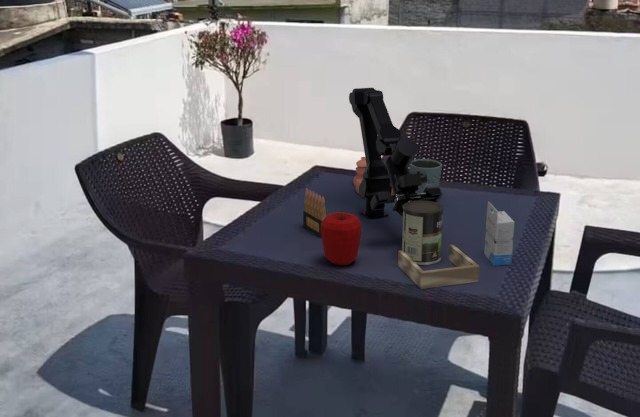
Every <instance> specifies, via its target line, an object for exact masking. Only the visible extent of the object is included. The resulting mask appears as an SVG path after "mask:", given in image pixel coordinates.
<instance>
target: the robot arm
mask: <svg viewBox="0 0 640 417" xmlns="http://www.w3.org/2000/svg"><path fill="white" fill-rule="evenodd" d="M348 102H349V104H350V105H351V110H352V112H353V113H354V114H355V116H356V117H357V118H358V121H359V126H360V132H361V139H362V145H363V152H364V157H365V158H366V168H365V170H364V173H363V180H362V181H361V183H360V185H359V194H358V195H360V196H361V198H363V199H364V198H365V199H364V201H365V202H364V203H365V204H364V210H360V213H361V214H362V215H363V216H365V217H366V218H367V219H375V218H376V219H378V218H384V217H389V215H390V214H389V213H387V212H386V211H385V206H386V204H392V205H393V207H392V211H393V212H396V213H397V214H399V215H400V217H402V218H403V205H404V204H405V203H407V202H411V201H420V200H423V201H432V202H436V203H438V202H439V200H440V199H441V197H442V196H443V192H442V189H441V188H440V186H439V187H427V188H425V190H424V191H423V193H416V192H415V191H417V190H418V189H419V188H418V186H422V183H425V182H427V174H426V172H425V170H422V171H418V172H417V174H412V173H410V167H409V166H410V164H411V162H412V161H413V160H415V157H416V155H417V154H418V151H419V146H418V145H419V144H418V143H416V141H415V140H413V139H412V138H410V137H409V136H408V134H403V133H402V131H401V129H399V128H397V127H396V126H394V124H393V121H392V119H391V116H390V114H389V111H388V108H387V106H386V104H385V101H384V92H383V91H382V90H377V89H375V88H374V87H359V88H357V87H356V88H353V89H352V92H350V93H349V96H348ZM382 156H383V157H387V159H386V161H385V163H384V162H383V159H382ZM388 156H389V157H388ZM392 189H393V195H392V196H391V192H392Z"/></svg>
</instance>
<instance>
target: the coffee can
mask: <svg viewBox="0 0 640 417" xmlns="http://www.w3.org/2000/svg"><path fill="white" fill-rule="evenodd" d="M443 213H444V206H443V205H442V203H438V202H437V203H436V202H432V201H423V200H420V201H411V202H407V203H405V204H404V205H403V217H402V238H401V239H402V240H401V242H402V244H401V246H402V247H401V250H402V251H403V252H404V253H405V254H406V255H407V256H408V257H410V258H411V259H412V260H413V261H414V262H415V263H416V264H417V265H418V266H420V265H421V266H426V265H427V266H428V265H429V266H430V265H434V264H437V263H439V262H441V259H442V236H443V235H442V234H443V231H442V230H443V216H444V215H443Z"/></svg>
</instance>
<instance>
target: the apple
mask: <svg viewBox="0 0 640 417" xmlns="http://www.w3.org/2000/svg"><path fill="white" fill-rule="evenodd" d="M321 236H322V238H321V240H322V247H323V252H324V257H325V258H326V259H327V260H328V261H330V263H332V264H333V265H336V266H337V265H338V266H347V265H350V264H352V263H353V262H354V260H356V258H358V255H359V253H358V252H359V249H360V244H361V239H362V221H361V220H360V219H359V217H358V216H357V215H356V214H354V213H353V214H352V213H348V212H342V211H337V212H331V213H329V214H326V217H325V219H324V220H323V221H322V222H321Z"/></svg>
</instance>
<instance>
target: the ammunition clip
mask: <svg viewBox="0 0 640 417" xmlns="http://www.w3.org/2000/svg"><path fill="white" fill-rule="evenodd" d="M303 205H304V207H303V208H304V210H303V213H302V214H303V215H302V216H303V219H302V220H303V221H302V222H303V223H302V228H303V227H304V229H305V230H306V231H308V230H309V231H308V232H310V231H311V232H310V233H312V234H313V233H314V235H315V236H316V237H318V238H320V239H322V236H321V222H322V221H323V220H324V219H325V217H326V216H327V210H326V201H325V197H324V195H322V196H321V194H318V192H316V193H315V191H314V190H313V191H312V190H311V189H308V188H307V187H306V188H305V193H304V202H303Z"/></svg>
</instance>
